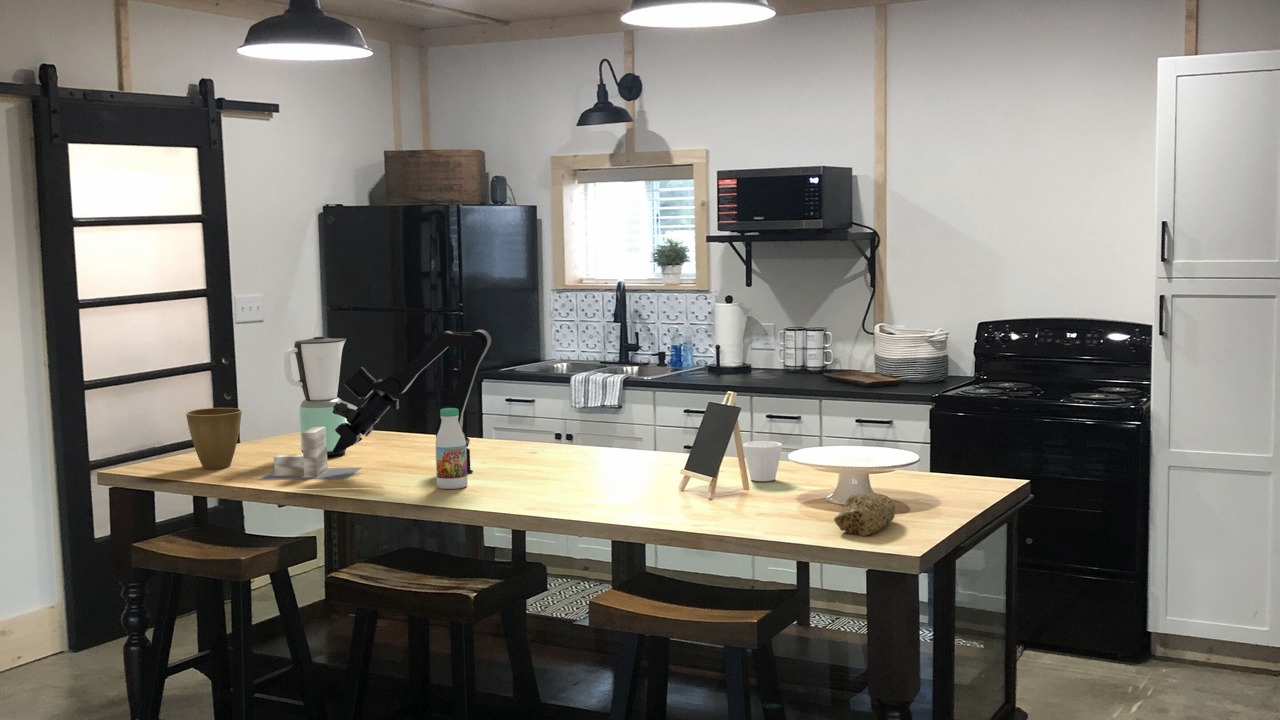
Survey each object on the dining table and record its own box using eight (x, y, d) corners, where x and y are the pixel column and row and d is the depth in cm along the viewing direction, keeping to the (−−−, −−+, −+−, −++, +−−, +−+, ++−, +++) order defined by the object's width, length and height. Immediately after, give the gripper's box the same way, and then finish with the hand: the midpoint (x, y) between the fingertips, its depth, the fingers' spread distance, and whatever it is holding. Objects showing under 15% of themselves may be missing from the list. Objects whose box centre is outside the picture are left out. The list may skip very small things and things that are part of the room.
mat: (362, 468, 349) (362, 467, 349) (346, 480, 333) (346, 478, 333) (276, 470, 350) (276, 469, 350) (256, 481, 334) (256, 480, 334)
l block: (327, 470, 346) (325, 426, 345) (317, 477, 336) (315, 432, 335) (282, 470, 347) (280, 427, 346) (271, 477, 337) (268, 433, 336)
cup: (785, 477, 323) (785, 441, 322) (779, 484, 313) (778, 447, 313) (747, 475, 326) (746, 440, 325) (739, 483, 316) (739, 446, 315)
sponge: (880, 545, 256) (916, 506, 272) (870, 509, 255) (906, 473, 271) (823, 549, 264) (861, 511, 280) (813, 514, 263) (851, 478, 279)
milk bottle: (431, 487, 321) (428, 409, 319) (456, 482, 326) (453, 405, 324) (447, 491, 315) (444, 411, 313) (473, 486, 320) (470, 408, 318)
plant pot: (180, 472, 351) (177, 415, 349) (202, 462, 366) (199, 407, 364) (232, 471, 350) (229, 414, 348) (252, 461, 365) (249, 407, 363)
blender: (341, 449, 384) (336, 334, 380) (360, 454, 373) (355, 336, 370) (281, 456, 372) (275, 338, 369) (298, 462, 362) (292, 340, 358)
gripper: (358, 386, 348) (321, 426, 350) (340, 394, 330) (301, 437, 331) (388, 413, 349) (351, 454, 350) (372, 423, 330) (333, 466, 332)
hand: (334, 452), depth 341 cm, fingers closed
